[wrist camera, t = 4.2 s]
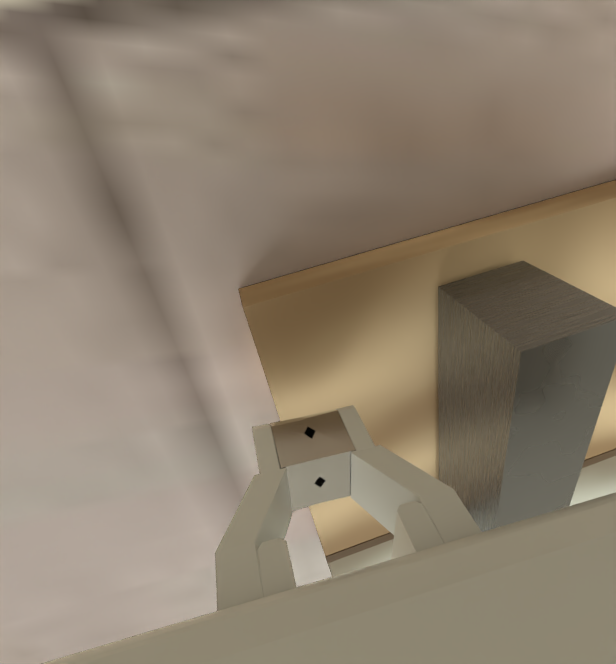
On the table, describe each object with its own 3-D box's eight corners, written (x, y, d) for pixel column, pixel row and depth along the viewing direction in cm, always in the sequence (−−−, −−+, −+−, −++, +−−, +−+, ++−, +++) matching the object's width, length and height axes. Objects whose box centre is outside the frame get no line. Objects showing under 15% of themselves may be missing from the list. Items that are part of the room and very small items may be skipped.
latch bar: (496, 522, 20) (556, 606, 17) (431, 546, 20) (480, 638, 16) (534, 256, 12) (668, 320, 8) (425, 289, 11) (520, 370, 8)
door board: (628, 531, 29) (644, 547, 28) (354, 640, 27) (360, 662, 26) (838, 115, 14) (890, 117, 13) (238, 288, 12) (243, 307, 11)
